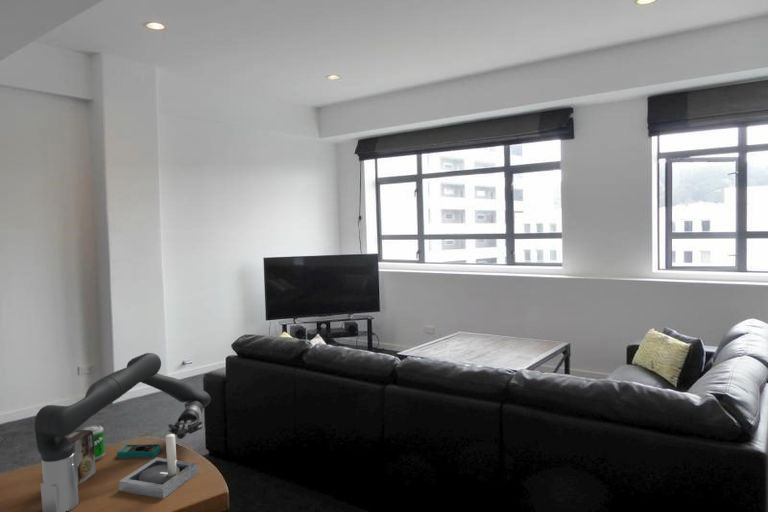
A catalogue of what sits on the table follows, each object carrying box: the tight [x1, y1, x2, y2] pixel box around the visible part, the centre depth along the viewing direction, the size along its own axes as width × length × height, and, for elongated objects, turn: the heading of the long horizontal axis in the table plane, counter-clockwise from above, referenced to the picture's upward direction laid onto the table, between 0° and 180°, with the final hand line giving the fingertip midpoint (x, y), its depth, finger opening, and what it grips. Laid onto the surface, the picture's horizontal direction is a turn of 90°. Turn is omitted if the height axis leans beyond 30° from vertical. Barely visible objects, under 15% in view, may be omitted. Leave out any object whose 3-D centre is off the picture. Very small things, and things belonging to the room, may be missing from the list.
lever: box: [139, 433, 179, 485], centre depth 187 cm, size 13×13×16 cm
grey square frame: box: [118, 456, 199, 499], centre depth 188 cm, size 18×18×4 cm
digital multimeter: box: [116, 443, 162, 459], centre depth 210 cm, size 7×15×3 cm, turn 91°
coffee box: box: [65, 429, 97, 486], centre depth 191 cm, size 9×6×16 cm
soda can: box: [82, 424, 106, 462], centre depth 207 cm, size 8×8×12 cm
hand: (180, 436), depth 197 cm, fingers closed
